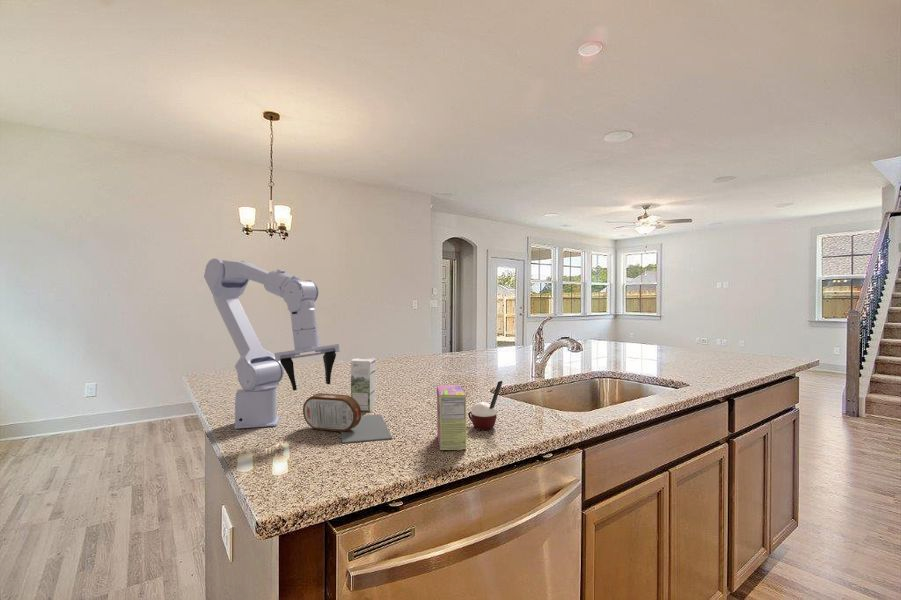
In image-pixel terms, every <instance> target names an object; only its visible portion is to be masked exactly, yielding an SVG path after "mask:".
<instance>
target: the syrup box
mask: <svg viewBox="0 0 901 600" xmlns="http://www.w3.org/2000/svg"><path fill="white" fill-rule="evenodd" d="M350 396H351V397H352V398H354V399H355V400H356V401H357V402H358V404H359V406H360V409H361V412H372V410H373V409H374V408H375V407H376V358H375V357H354V358H352V359H351V360H350Z"/></svg>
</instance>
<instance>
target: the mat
mask: <svg viewBox="0 0 901 600" xmlns="http://www.w3.org/2000/svg"><path fill="white" fill-rule="evenodd" d="M340 435H341V436H340V437H341V438H340V439H341V443H342V444H352V443H361V442H375V441H387V440H393V436H392V434H391V432H390V430H389V429H388V426H387V424H386V421H385V420H384V418H383V416H382V414H368V415H361V420H360V422H359V424H358V425H357V426H356V427H354V428H352V429H350V430H349V431H345V432H341V431H340Z"/></svg>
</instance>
